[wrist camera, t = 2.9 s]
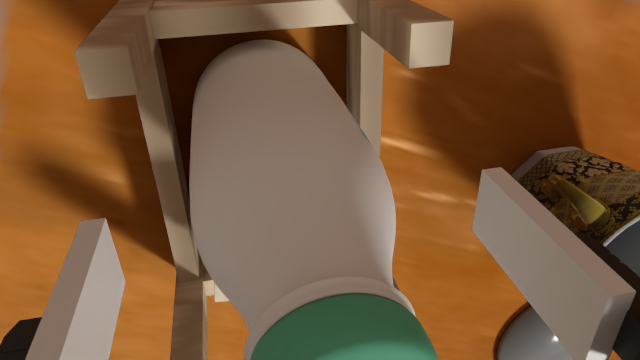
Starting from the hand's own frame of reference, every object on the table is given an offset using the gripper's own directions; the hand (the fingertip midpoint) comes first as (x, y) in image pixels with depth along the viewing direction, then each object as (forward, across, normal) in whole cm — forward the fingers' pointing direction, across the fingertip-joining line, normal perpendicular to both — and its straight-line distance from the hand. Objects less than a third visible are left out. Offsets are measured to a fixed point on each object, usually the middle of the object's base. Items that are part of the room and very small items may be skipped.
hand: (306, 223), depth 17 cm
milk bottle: (+13, 0, 0) cm, 13 cm away
